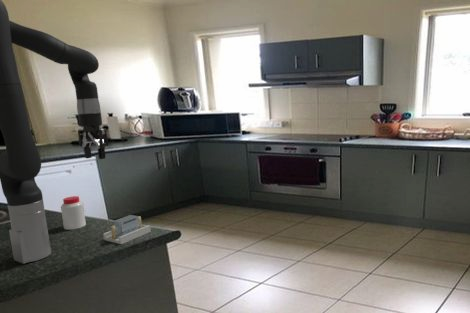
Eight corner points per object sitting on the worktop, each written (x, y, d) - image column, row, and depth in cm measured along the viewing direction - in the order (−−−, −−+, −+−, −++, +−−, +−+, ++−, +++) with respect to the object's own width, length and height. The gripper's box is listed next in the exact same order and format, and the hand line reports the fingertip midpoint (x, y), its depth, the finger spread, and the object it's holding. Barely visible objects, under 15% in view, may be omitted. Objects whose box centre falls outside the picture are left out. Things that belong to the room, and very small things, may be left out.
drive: (122, 237, 120) (121, 222, 119) (115, 235, 122) (113, 220, 122) (139, 230, 126) (138, 216, 125) (132, 228, 128) (130, 214, 127)
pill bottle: (89, 222, 143) (85, 195, 141) (79, 229, 135) (75, 200, 134) (71, 223, 144) (67, 195, 142) (59, 230, 136) (55, 201, 135)
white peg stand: (121, 244, 117) (119, 229, 116) (104, 239, 122) (102, 225, 121) (150, 231, 126) (149, 217, 126) (133, 228, 132) (132, 214, 131)
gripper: (68, 114, 129) (74, 159, 131) (91, 112, 120) (97, 160, 123) (87, 112, 135) (93, 156, 137) (110, 110, 126) (116, 157, 128)
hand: (95, 158), depth 130 cm, fingers open, 8 cm apart
